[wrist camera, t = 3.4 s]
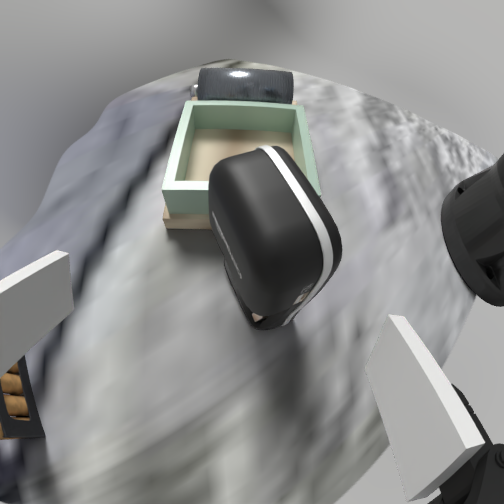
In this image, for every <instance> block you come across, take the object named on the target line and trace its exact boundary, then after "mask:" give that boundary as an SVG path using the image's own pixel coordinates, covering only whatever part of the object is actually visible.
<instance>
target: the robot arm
mask: <svg viewBox="0 0 504 504" xmlns="http://www.w3.org/2000/svg"><path fill="white" fill-rule="evenodd" d="M441 222H442V229H443V234H444V238H445V241H446V244H447V247H448V250H449V252H450V255H451V257H452V259H453V261H454V263H455V265H456V267H457V269H458V271H459V272H460V274H461V276H462V277H463V279H464V280H465V281H466V283H467V284H468V285H469V287H470V288H471V289H472V290H473V291H474V292H475V293H476V294H477V295H478V296H479V297H480V298H481V299H483V300H484V301H485V302H487V303H489V304H491V305H494V306H500V307H501V306H504V154H503V155H502V156H501V157H500V159H499V160H498V161H497V162H496V163H495V164H494V165H493V166H491V167H489V168H487V169H485V170H483V171H481V172H479V173H477V174H475V175H473V176H471V177H469V178H467V179H465V180H463V181H462V182H460V183H459V184H457V185H456V186H455V187H454V189H453V190H452V191H451V192H450V193H449V194H448V195H447V197H446V198H445V200H444V202H443V205H442V211H441ZM72 311H74V303H73V295H72V286H71V275H70V262H69V253H65V252H61V251H58V250H56V251H54V252H52V253H50V254H48V255H46V256H44V257H43V258H41V259H39V260H37V261H35V262H33V263H31V264H29V265H27V266H26V267H24V268H22V269H20V270H18V271H16V272H15V273H13V274H11V275H9V276H8V277H6V278H4V279H2V280H1V281H0V378H1V377H2V376H3V375H4V374H5V373H6V372H7V371H8V370H9V369H10V368H11V367H12V366H13V365H14V364H15V363H16V362H17V361H18V360H19V359H20V358H21V357H22V356H24V355H25V354H26V353H27V352H28V351H29V350H30V349H31V348H32V347H33V346H34V345H35V344H36V343H37V342H39V341H40V340H41V339H42V338H43V337H44V336H45V335H46V334H47V333H48V332H50V331H51V330H52V329H53V328H54V327H55V326H56V325H57V324H59V323H60V322H61V321H62V320H63V319H64V318H65V317H67V316H68V315H69V314H70V313H71V312H72ZM364 370H365V372H366V375H367V378H368V380H369V383H370V386H371V389H372V391H373V394H374V397H375V400H376V403H377V406H378V408H379V411H380V414H381V417H382V420H383V423H384V426H385V429H386V432H387V435H388V439H389V442H390V445H391V448H392V451H393V455H394V458H395V461H396V464H397V468H398V471H399V475H400V478H401V482H402V486H403V489H404V493H405V497H406V500H407V502H409V501H413V500H417V499H421V498H425V497H427V496H429V495H430V494H431V493H433V492H434V491H435V490H436V489H437V488H440V491H441V494H440V495H439V496H437V497H436V498H435V499H433V500H432V501H431V502H429V503H428V504H504V444H495V445H493V444H492V442H491V440H490V438H489V436H488V435H487V433H486V431H485V430H484V428H483V426H482V424H481V422H480V421H479V419H478V417H477V416H476V414H474V411H473V409H472V408H471V406H470V405H468V404H469V403H468V401H467V399H466V398H465V396H464V395H463V393H462V392H461V391H460V390H459V389H457V388H456V387H455V386H454V385H453V384H450V382H449V381H448V379H447V378H446V376H445V374H444V373H443V372H442V370H441V368H440V367H439V365H438V364H437V362H436V361H435V359H434V358H433V356H432V355H431V354H430V352H429V351H428V349H427V348H426V346H425V345H424V343H423V342H422V341H421V339H420V338H419V336H418V335H417V334H416V332H415V331H414V329H413V328H412V327H411V325H410V324H409V323H408V321H407V320H406V319H405V317H404V316H397V315H389V314H388V316H387V318H386V321H385V323H384V326H383V328H382V331H381V333H380V335H379V338H378V340H377V342H376V345H375V347H374V349H373V351H372V353H371V356H370V358H369V360H368V362H367V364H366V366H365V368H364Z"/></svg>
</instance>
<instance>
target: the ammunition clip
mask: <svg viewBox="0 0 504 504" xmlns="http://www.w3.org/2000/svg"><path fill="white" fill-rule="evenodd" d="M3 393H7V394H10V395H5V394H3ZM10 416H16V417H10ZM41 437H45V433H44V430H43V427H42V424H41V421H40V417H39V414H38V411H37V407H36V404H35V400H34V396H33V392H32V388H31V384H30V380H29V375H28V370H27V365H26V360H25V355H24V356H22V357H21V358H20V359H19V360H18V361H17V362H16V363H15V364H14V365H13V366H12V367H11V368H10V369H9V370H8V371H7V372H6V373H5V374H4V375H3V376H2V377H1V378H0V440H4V439H28V438H41Z"/></svg>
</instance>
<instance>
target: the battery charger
mask: <svg viewBox="0 0 504 504" xmlns="http://www.w3.org/2000/svg"><path fill="white" fill-rule="evenodd" d="M208 206H209V220H210V225H211V228H212V231H213V233H214V235H215V238H216V240H217V242H218V245H219V247H220V249H221V251H222V253H223V255H224V257H225V260H224V265H225V269H226V272H227V274H228V276H229V279H230V281H231V284H232V286H233V288H234V290H235V293H236V295H237V297H238V300H239V302H240V304H241V306H242V309H243V311H244V313H245V315H246V317H247V319H248V321H249V323H250V324H251V326H252V327H254V328H255V329H258V330H268V329H273V328H276V327H278V326H280V325H282V326H284V325H286V324H288V322H289V321H291V320H293V319H294V317H295V316H296V314H297V313H298V312H299V311H300V310H301V309H302V308H303V307H304V306H305V305H306V304H307V303H308V302H310V301H311V300H312V299H313V298H314V297H315V296H316V295H317V294H318V293H319V292H320V291H321V289H322V288H323V287H324V286H325V285H326V283H327V282H328V281H329V279H330V278H331V277H332V275H333V274H334V272H335V271H336V269H337V268H338V265H339V263H340V261H341V257H342V243H341V237H340V234H339V231H338V228H337V226H336V224H335V222H334V220H333V218H332V216H331V215H330V213H329V211H328V210H327V208H326V207H325V205H324V203H323V202H322V200H321V199H320V197H319V196H318V194H317V193H316V191H315V189H314V188H313V186H312V185H311V183H310V182H309V180H308V179H307V178H306V176H305V175H304V174H303V172H302V171H301V169H300V168H299V167H298V165H297V164H296V163H295V161H294V160H293V158H292V157H291V156H290V155H289V154H288V152H287V151H286V150H285V149H283V148H281V147H280V146H268V145H264V146H259V147H257V148H255V150H253V151H249V152H246V153H242V154H238V155H234V156H230V157H227V158H225V159H222V160H220V161H219V162H218V163H217V164H215V165H214V167H213V169H212V170H211V172H210V175H209V183H208Z"/></svg>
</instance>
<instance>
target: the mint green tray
mask: <svg viewBox="0 0 504 504" xmlns="http://www.w3.org/2000/svg"><path fill="white" fill-rule="evenodd" d="M293 87H294V83H293V74H292V72H286V71H275V70H263V69H245V68H201V70H200V73H199V78H198V84H193V85H191V89H190V94H191V97H192V100H191V101H186V103H185V106H184V109H183V112H182V116H181V119H180V122H179V126H178V129H177V132H176V136H175V139H174V143H173V147H172V150H171V154H170V158H169V162H168V166H167V170H166V174H165V178H164V182H163V186H162V193H163V196H164V199H165V202H166V203H165V208H164V213H163V221H164V224H165V227H166V228H168V229H210V230H212V228H211V225H210V220H209V206H208V183H209V175H210V172H211V170H212V169H213V167H214V165H215V164H217V163H218V162H219V161H220V160H222V159H225V158H227V157H230V156H234V155H238V154H242V153H246V152H249V151H253V150H255V148H257V147H259V146H264V145H268V146H280V147H281V148H283V149H285V150H286V151H287V152H288V154H289V155H290V156H291V157H292V158H293V160H294V161H295V163H296V164H297V165H298V167H299V168H300V169H301V171H302V172H303V174H304V175H305V176H306V178H307V179H308V180H309V182H310V183H311V185H312V186H313V188H314V189H315V191H316V193H317V194H318V196H319V197H321V192H320V186H319V181H318V175H317V170H316V164H315V159H314V154H313V149H312V144H311V139H310V134H309V129H308V125H307V120H306V116H305V111H304V107H303V106H300V105H297V101H292V100H293Z"/></svg>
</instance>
